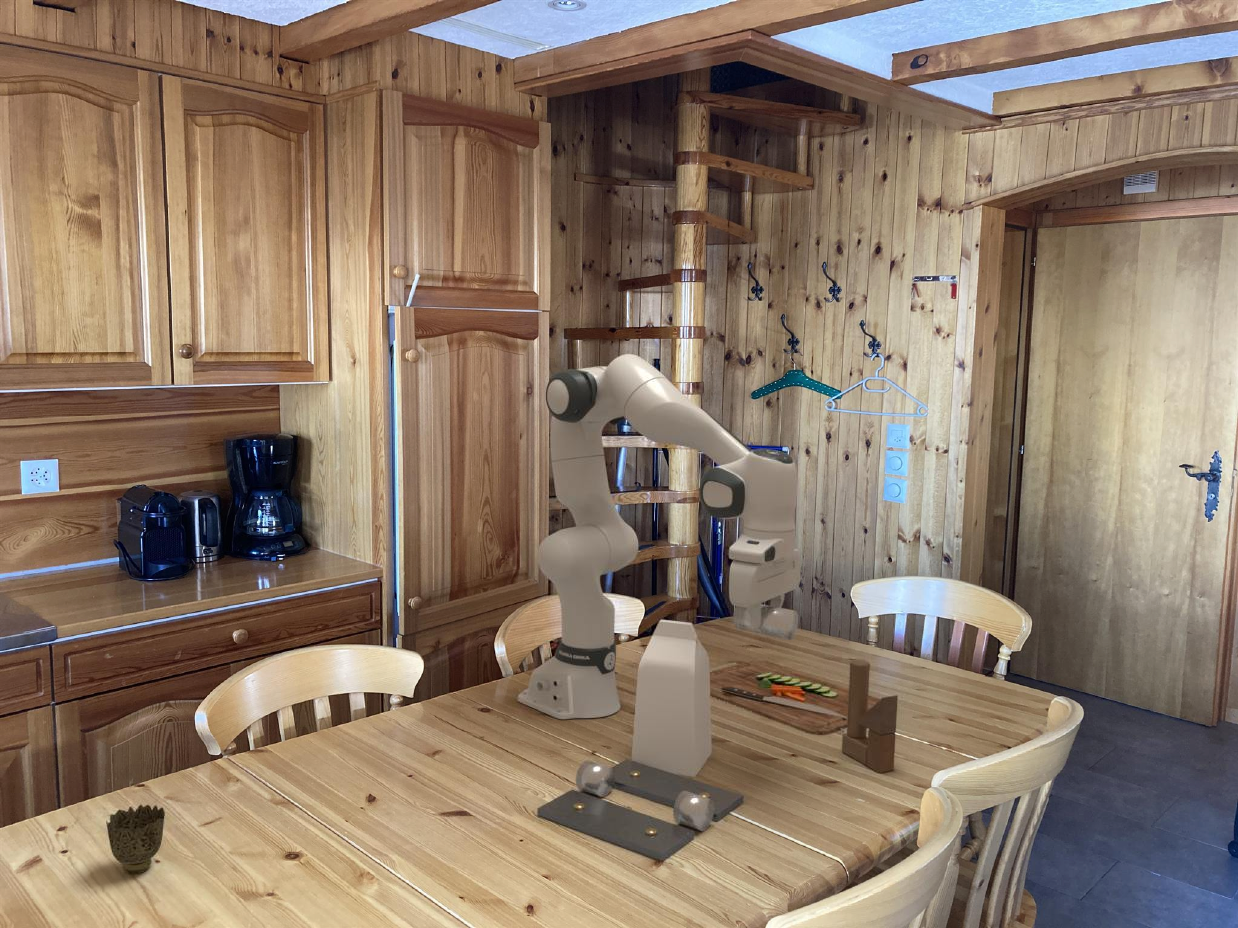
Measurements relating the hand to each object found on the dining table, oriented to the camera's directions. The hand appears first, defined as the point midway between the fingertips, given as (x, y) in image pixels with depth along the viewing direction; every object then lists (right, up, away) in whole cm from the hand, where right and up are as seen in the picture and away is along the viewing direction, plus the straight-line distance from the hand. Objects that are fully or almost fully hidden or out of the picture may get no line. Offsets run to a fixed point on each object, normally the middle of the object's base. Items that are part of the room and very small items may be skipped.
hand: (765, 622), depth 172 cm
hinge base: (-21, -29, -9) cm, 37 cm away
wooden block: (+21, -28, +12) cm, 37 cm away
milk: (-16, -27, +11) cm, 33 cm away
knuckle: (0, -2, 0) cm, 2 cm away
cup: (-94, -30, -31) cm, 103 cm away
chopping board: (+11, -25, +47) cm, 54 cm away
